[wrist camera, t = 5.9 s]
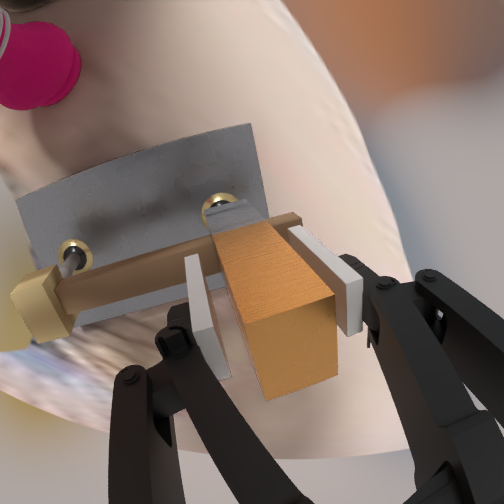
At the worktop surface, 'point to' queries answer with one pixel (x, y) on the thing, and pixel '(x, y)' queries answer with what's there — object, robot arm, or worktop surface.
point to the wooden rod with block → (112, 282)
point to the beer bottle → (21, 4)
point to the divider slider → (274, 301)
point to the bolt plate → (143, 207)
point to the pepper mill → (35, 64)
